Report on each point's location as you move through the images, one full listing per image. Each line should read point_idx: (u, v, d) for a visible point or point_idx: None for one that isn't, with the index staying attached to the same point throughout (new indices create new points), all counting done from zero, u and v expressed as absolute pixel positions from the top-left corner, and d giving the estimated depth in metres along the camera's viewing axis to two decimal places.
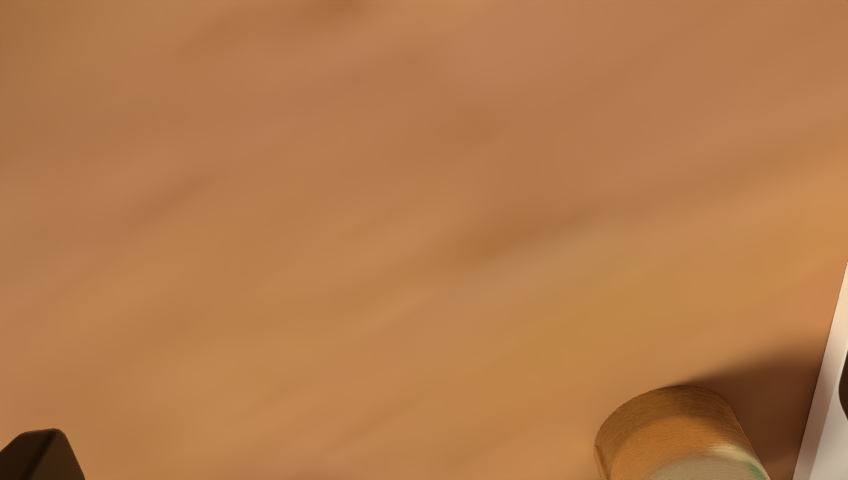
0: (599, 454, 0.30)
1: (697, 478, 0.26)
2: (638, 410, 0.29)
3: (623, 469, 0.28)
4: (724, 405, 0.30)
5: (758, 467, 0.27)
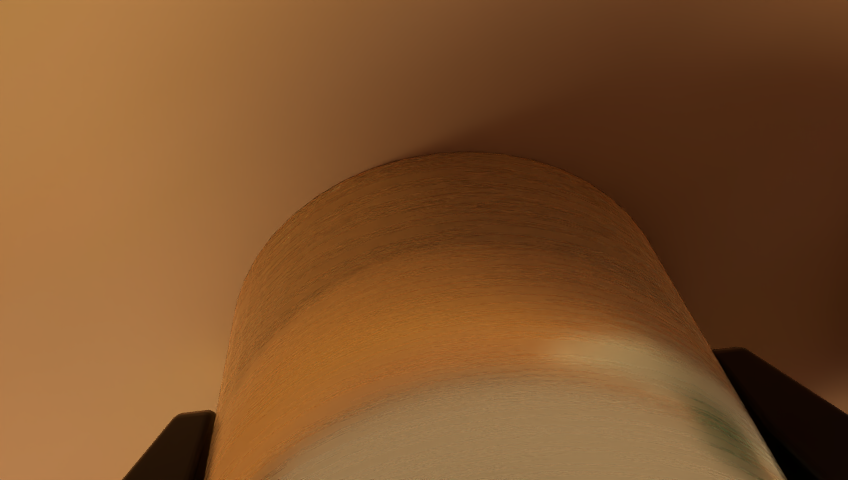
0: None
1: (422, 452, 0.05)
2: (315, 228, 0.08)
3: None
4: (621, 219, 0.09)
5: (727, 412, 0.06)
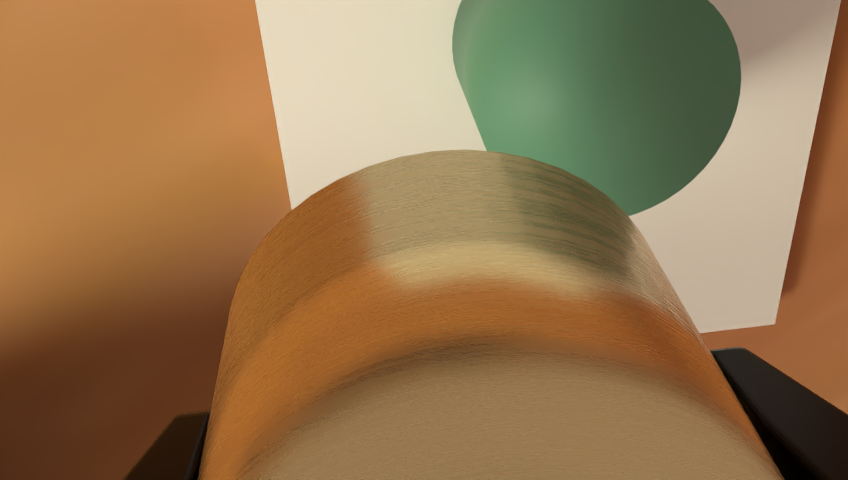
0: None
1: (414, 449, 0.05)
2: (310, 226, 0.08)
3: None
4: (617, 217, 0.09)
5: (724, 410, 0.06)
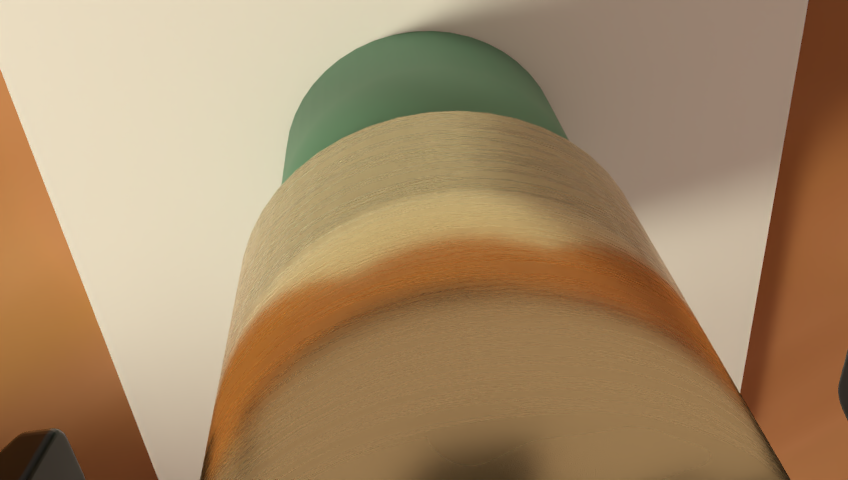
0: None
1: (407, 349, 0.06)
2: (316, 179, 0.09)
3: None
4: (597, 172, 0.09)
5: (684, 329, 0.07)
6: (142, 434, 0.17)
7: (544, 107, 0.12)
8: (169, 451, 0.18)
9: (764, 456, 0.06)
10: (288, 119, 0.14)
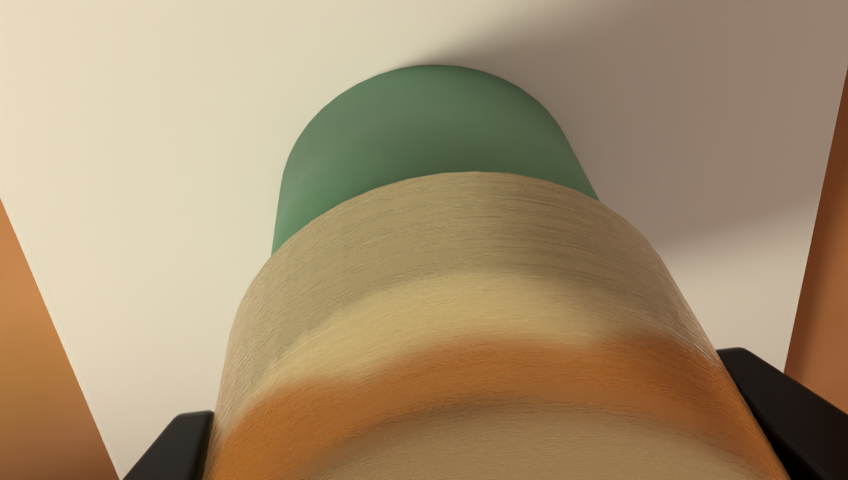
0: None
1: None
2: (313, 253, 0.08)
3: None
4: (637, 243, 0.08)
5: (758, 461, 0.06)
6: None
7: (566, 152, 0.11)
8: None
9: None
10: (281, 160, 0.12)
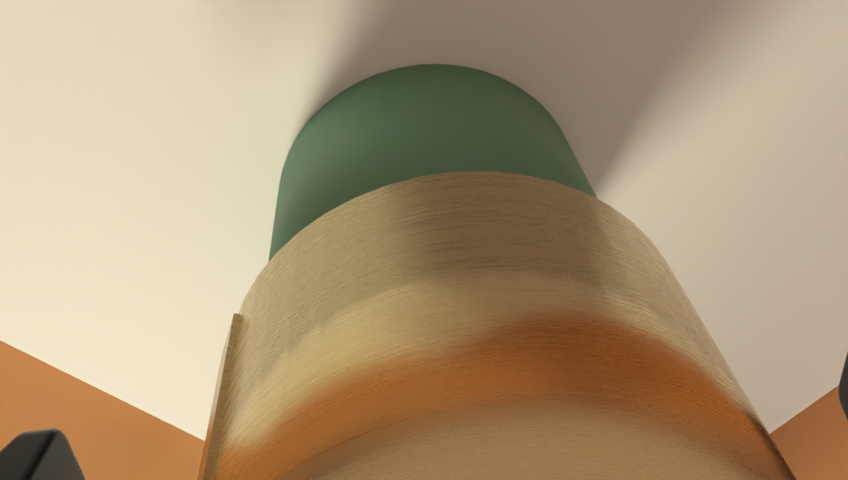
0: (235, 343, 0.08)
1: None
2: (425, 209, 0.08)
3: (285, 389, 0.07)
4: None
5: None
6: None
7: (443, 108, 0.10)
8: None
9: None
10: None
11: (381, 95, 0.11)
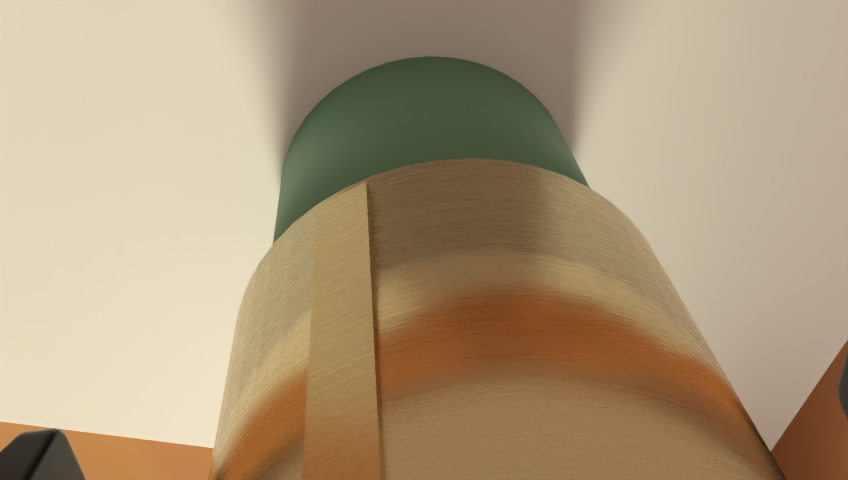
0: (371, 209, 0.08)
1: None
2: (603, 217, 0.09)
3: (503, 287, 0.07)
4: None
5: None
6: None
7: (362, 115, 0.11)
8: None
9: None
10: None
11: (318, 124, 0.12)
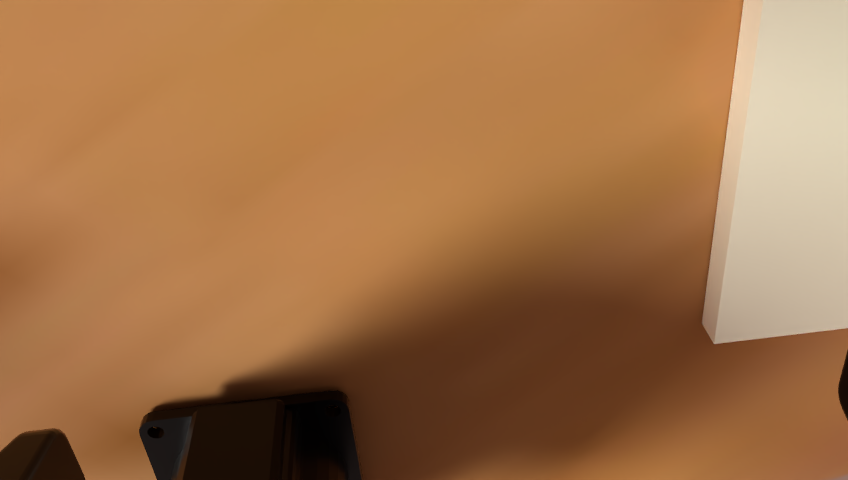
0: None
1: None
2: None
3: None
4: None
5: None
6: (726, 252, 0.23)
7: None
8: (740, 267, 0.23)
9: None
10: None
11: None
